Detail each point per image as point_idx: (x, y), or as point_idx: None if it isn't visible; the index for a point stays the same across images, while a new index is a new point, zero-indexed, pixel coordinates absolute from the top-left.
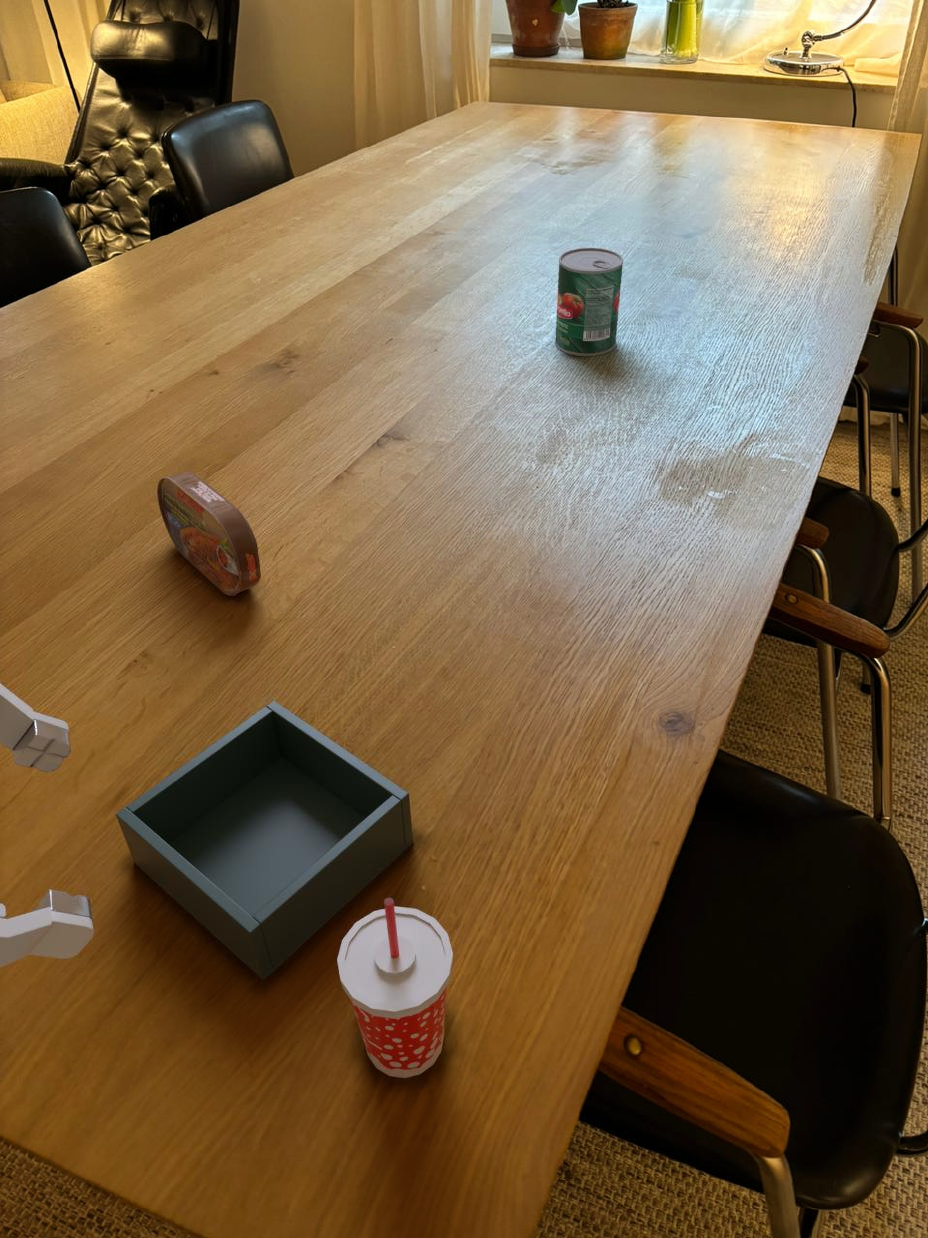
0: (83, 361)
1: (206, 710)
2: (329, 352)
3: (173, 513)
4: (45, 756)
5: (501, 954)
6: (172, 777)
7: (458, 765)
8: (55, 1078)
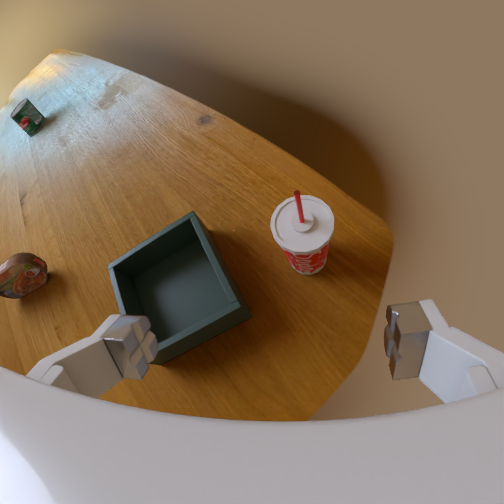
0: None
1: (93, 309)
2: None
3: (5, 290)
4: (143, 346)
5: None
6: None
7: (177, 201)
8: None
